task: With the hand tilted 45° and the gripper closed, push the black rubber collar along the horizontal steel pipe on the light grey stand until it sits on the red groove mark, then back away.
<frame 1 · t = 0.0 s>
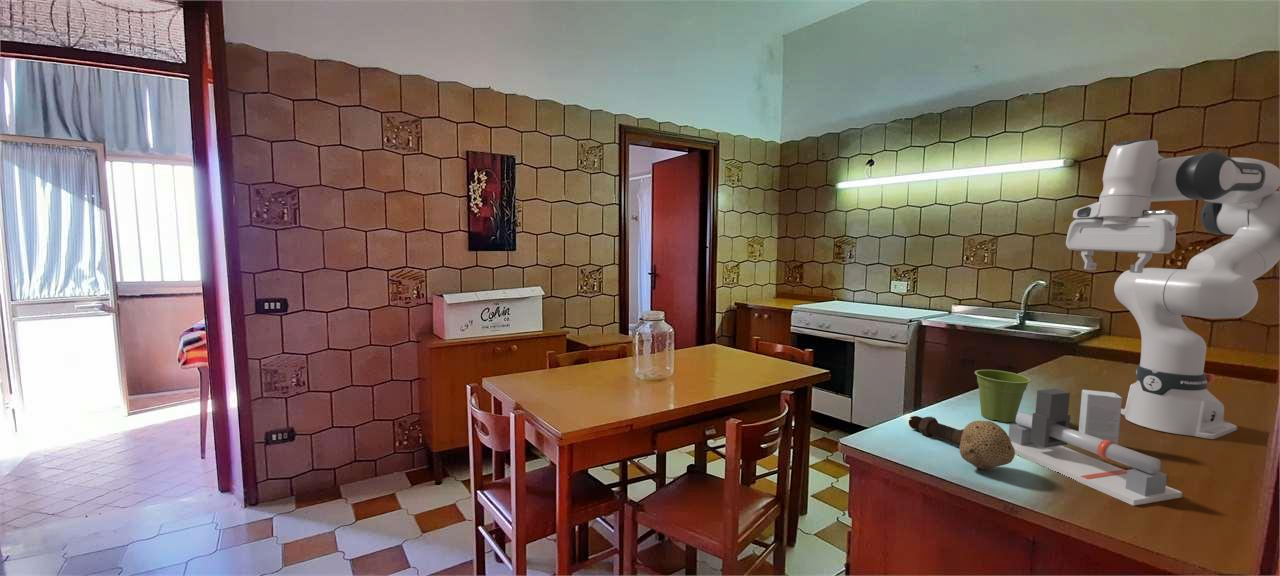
hand: (1111, 271, 120), 39 cm above the counter, tool pointing down, fingers open, 8 cm apart
natural sponge: (984, 470, 105), on the counter
plant pot: (998, 418, 135), on the counter
collar: (1051, 417, 111), point 8 cm above the counter, slide at -6.0 cm
pipe stand: (1077, 468, 106), on the counter
bolt: (940, 441, 120), on the counter
skincare box: (1096, 445, 118), on the counter
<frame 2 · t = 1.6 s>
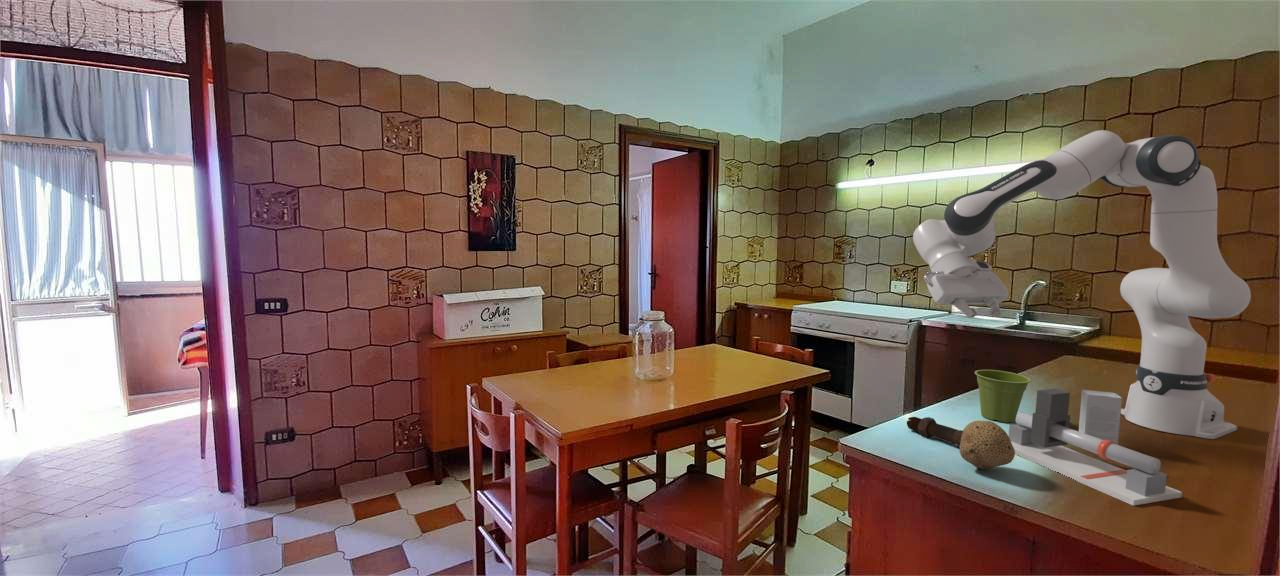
hand: (985, 315, 125), 28 cm above the counter, tool tilted 45°, fingers open, 6 cm apart
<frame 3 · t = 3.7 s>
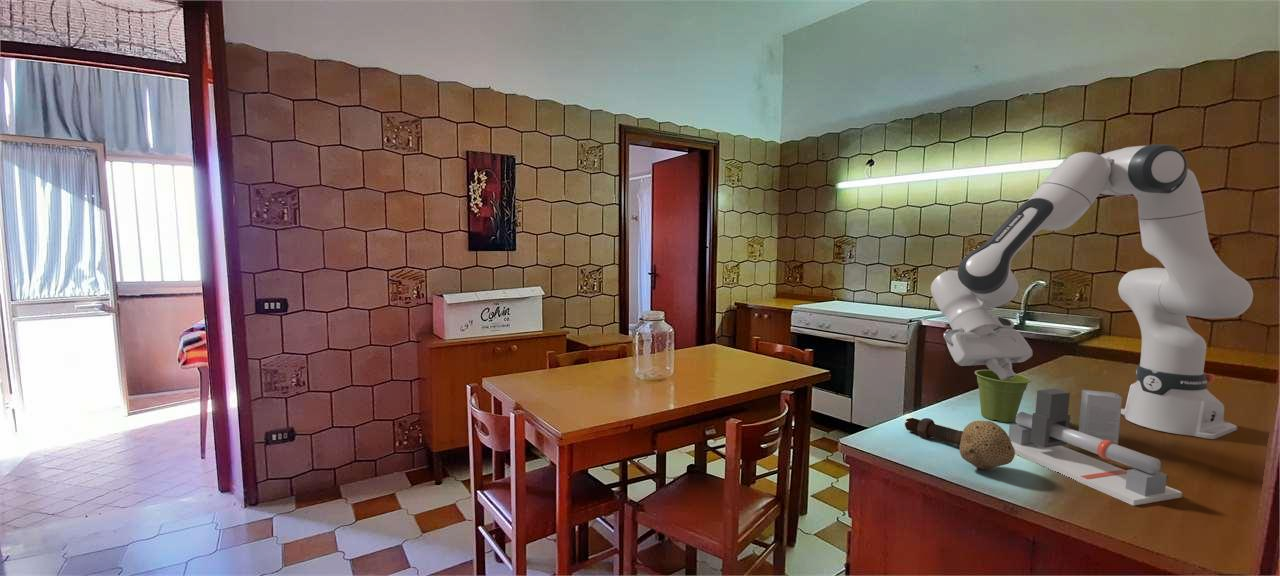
hand: (1008, 378, 120), 14 cm above the counter, tool tilted 45°, fingers closed
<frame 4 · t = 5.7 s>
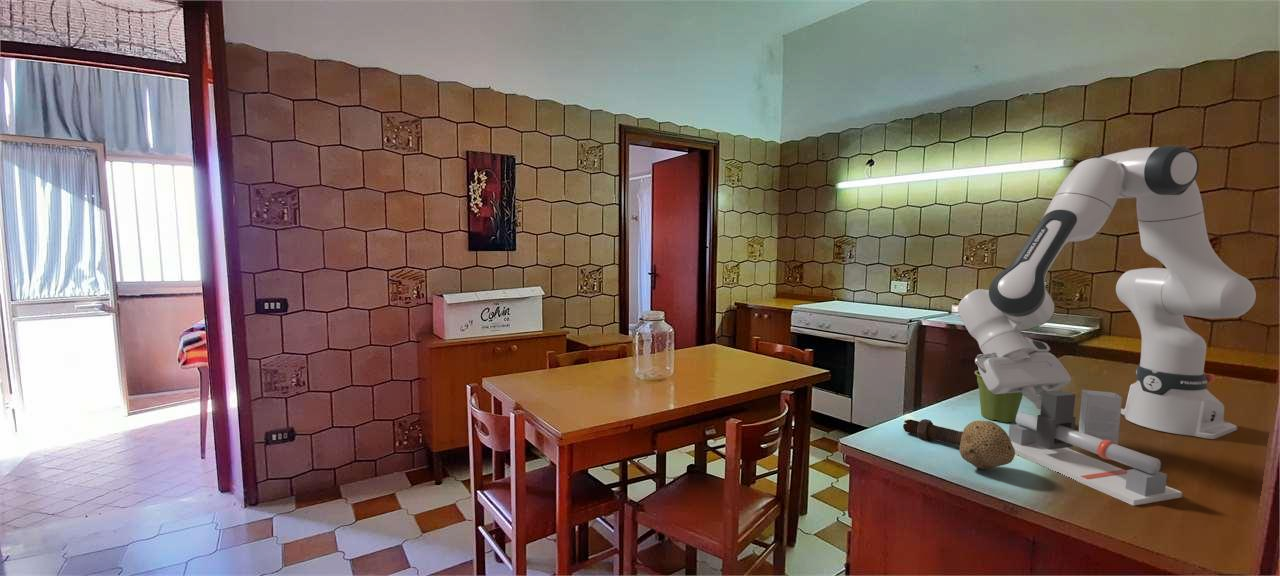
hand: (1046, 407, 112), 10 cm above the counter, tool tilted 45°, fingers closed, pressing on collar
collar: (1056, 419, 110), point 8 cm above the counter, slide at -4.9 cm, touching gripper
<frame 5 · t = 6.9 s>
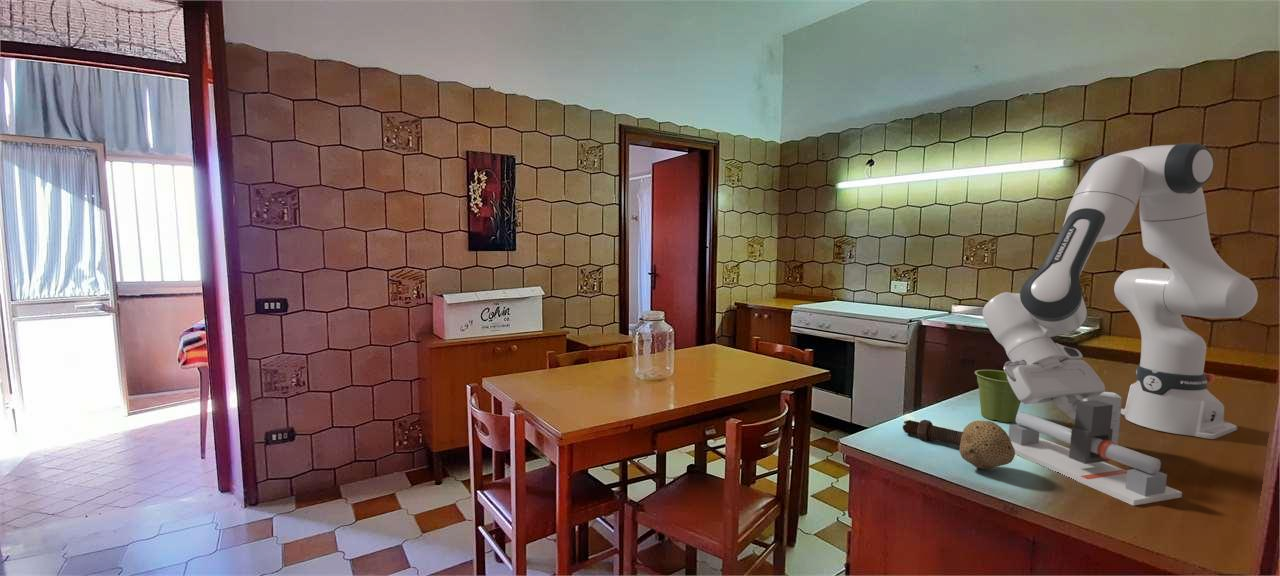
hand: (1081, 418, 105), 10 cm above the counter, tool tilted 45°, fingers closed, pressing on collar
collar: (1091, 431, 103), point 8 cm above the counter, slide at 2.0 cm, touching gripper
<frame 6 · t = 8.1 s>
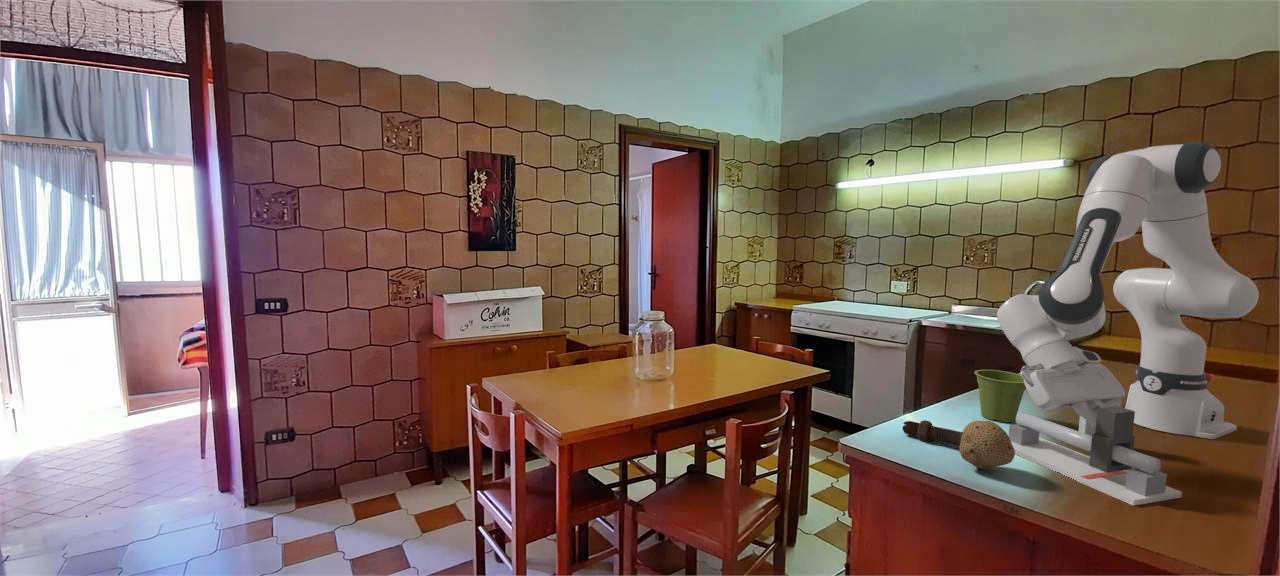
hand: (1101, 425, 101), 10 cm above the counter, tool tilted 45°, fingers closed, pressing on collar
collar: (1113, 438, 99), point 8 cm above the counter, slide at 5.7 cm, touching gripper
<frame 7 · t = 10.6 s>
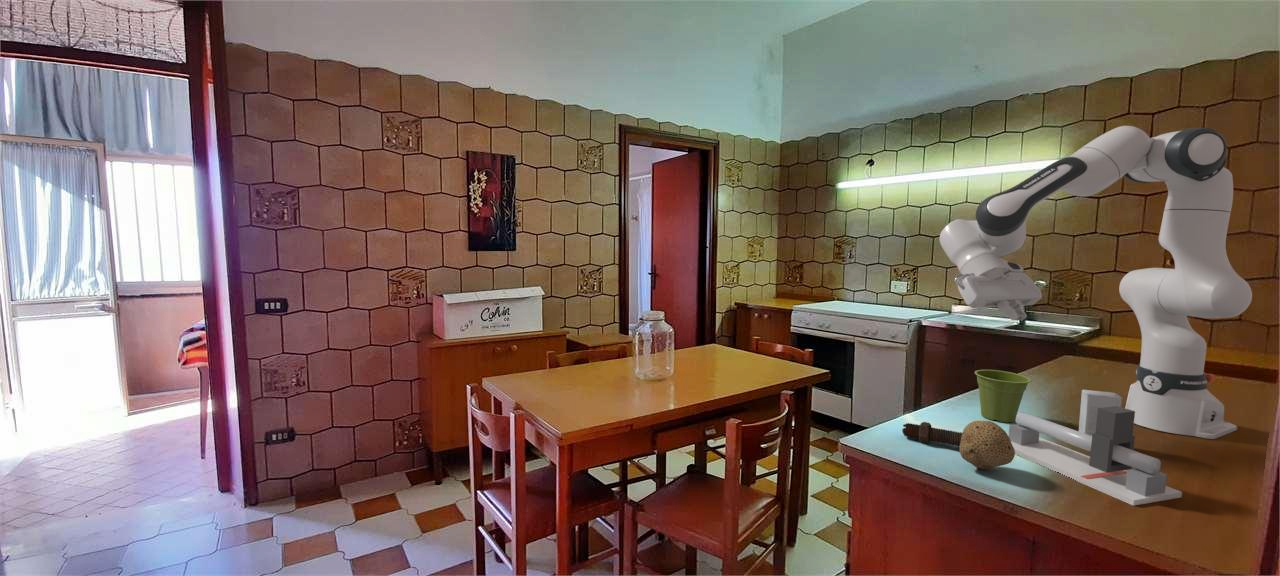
hand: (1020, 318, 121), 28 cm above the counter, tool tilted 45°, fingers closed
collar: (1113, 438, 99), point 8 cm above the counter, slide at 5.7 cm
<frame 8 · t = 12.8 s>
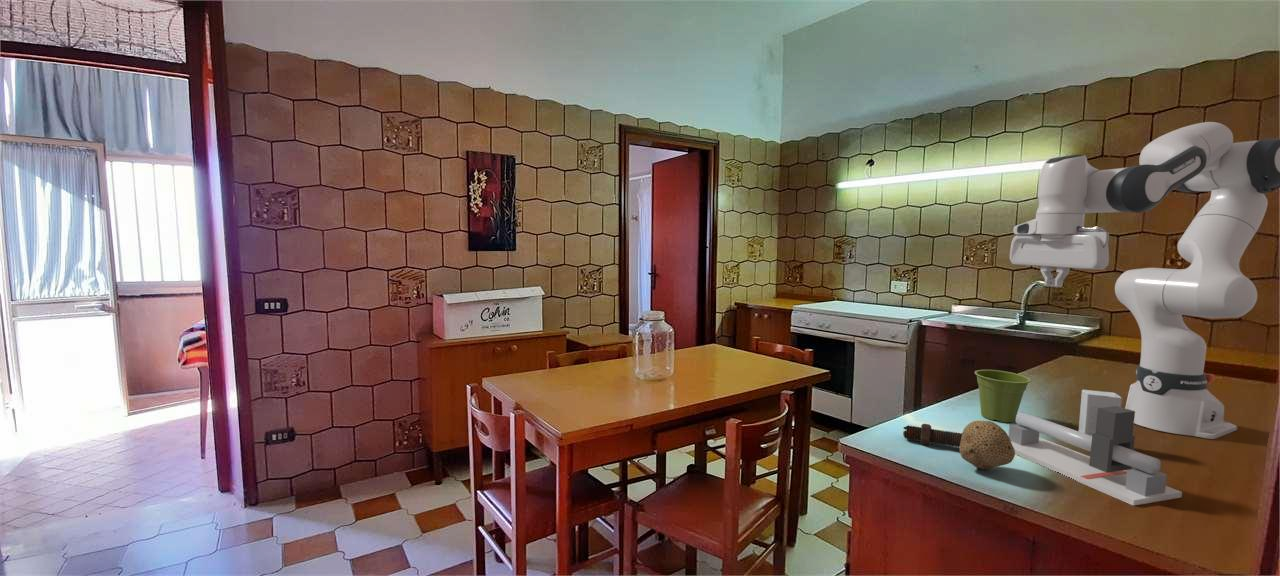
hand: (1053, 286, 121), 35 cm above the counter, tool pointing down, fingers closed
at the end: collar slide at 5.7 cm; the gripper is holding nothing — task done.
